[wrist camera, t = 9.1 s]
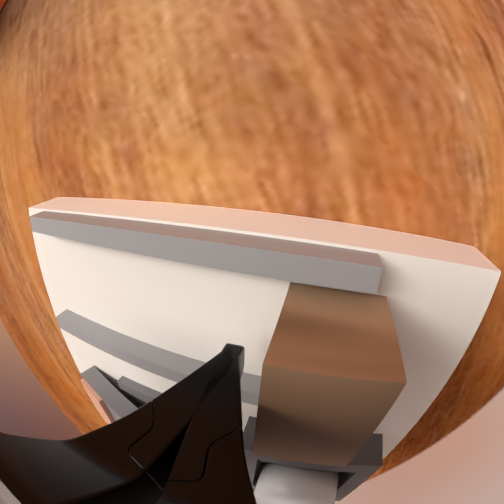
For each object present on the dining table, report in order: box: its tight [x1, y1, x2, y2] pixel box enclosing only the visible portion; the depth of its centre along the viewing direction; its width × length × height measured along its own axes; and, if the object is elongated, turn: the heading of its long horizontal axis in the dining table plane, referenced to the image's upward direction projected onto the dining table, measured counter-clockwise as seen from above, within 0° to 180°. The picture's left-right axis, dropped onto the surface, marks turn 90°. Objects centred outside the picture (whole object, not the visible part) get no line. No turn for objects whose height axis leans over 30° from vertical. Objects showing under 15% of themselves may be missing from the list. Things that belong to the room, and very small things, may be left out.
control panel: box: [29, 197, 501, 501], centre depth 12 cm, size 17×22×4 cm
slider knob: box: [252, 282, 407, 467], centre depth 7 cm, size 4×3×4 cm
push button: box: [254, 462, 339, 504], centre depth 10 cm, size 4×4×2 cm
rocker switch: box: [80, 366, 138, 424], centre depth 13 cm, size 5×9×2 cm, turn 87°
